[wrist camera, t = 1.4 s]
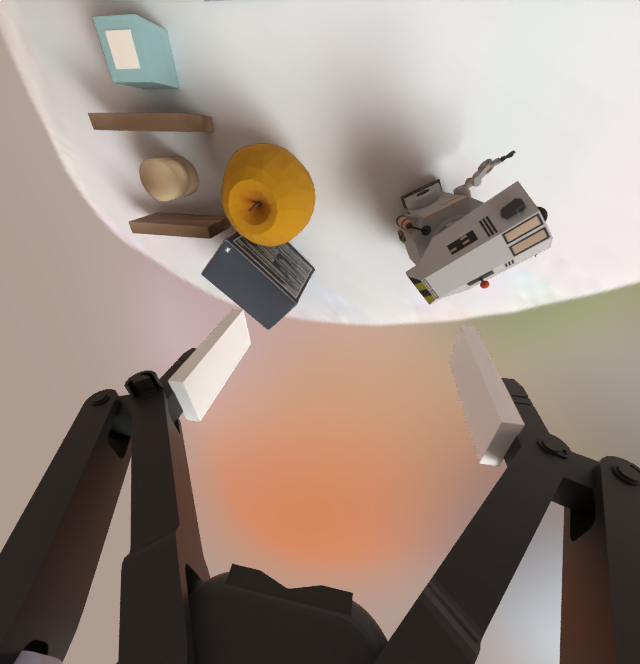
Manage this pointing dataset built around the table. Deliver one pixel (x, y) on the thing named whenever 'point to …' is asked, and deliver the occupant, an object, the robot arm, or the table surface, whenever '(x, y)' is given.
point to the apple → (267, 194)
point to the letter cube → (136, 52)
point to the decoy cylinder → (168, 177)
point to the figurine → (468, 234)
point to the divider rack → (165, 122)
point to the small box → (259, 277)
